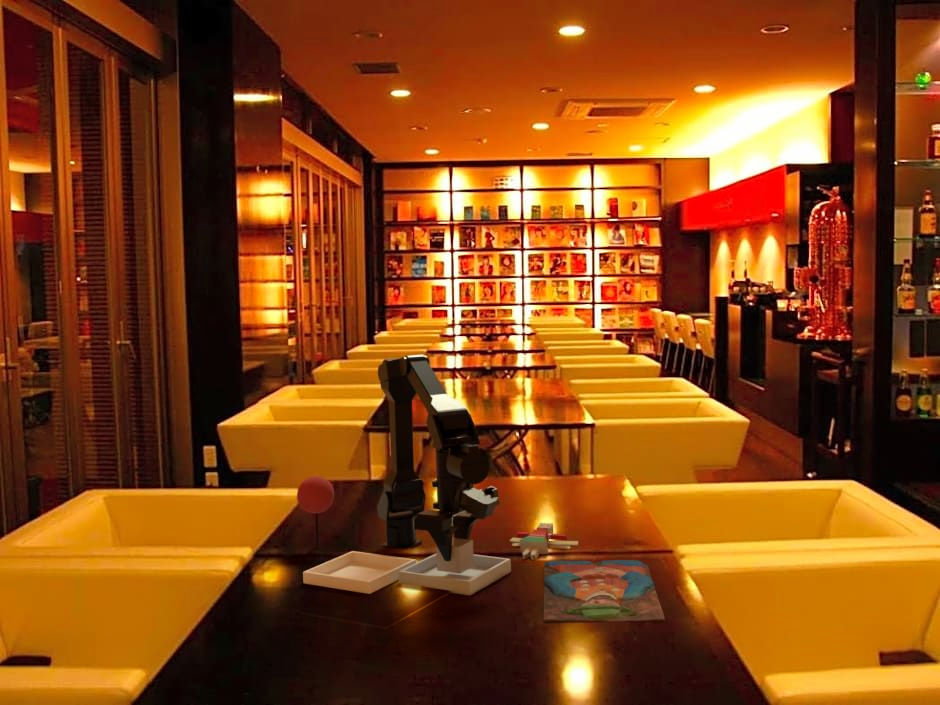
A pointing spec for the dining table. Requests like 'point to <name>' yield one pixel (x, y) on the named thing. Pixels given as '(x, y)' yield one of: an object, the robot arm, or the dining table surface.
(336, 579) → the bin
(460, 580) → the bin
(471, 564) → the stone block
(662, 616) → the plaque
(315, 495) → the lollipop
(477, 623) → the dining table surface
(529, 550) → the toy
